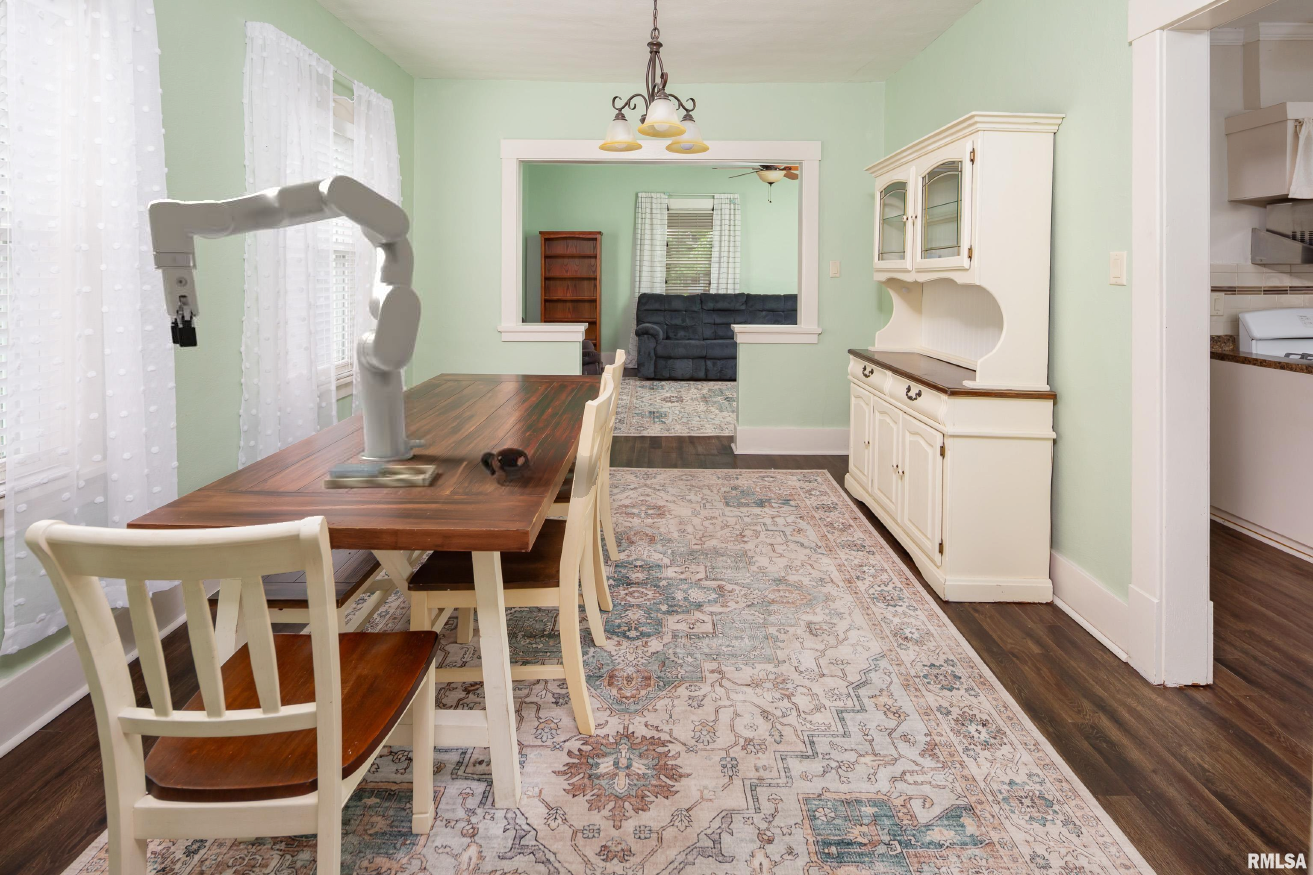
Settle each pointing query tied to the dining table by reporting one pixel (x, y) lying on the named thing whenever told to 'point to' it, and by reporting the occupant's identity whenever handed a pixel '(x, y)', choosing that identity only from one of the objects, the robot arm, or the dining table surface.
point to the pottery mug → (506, 464)
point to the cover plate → (358, 470)
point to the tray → (390, 478)
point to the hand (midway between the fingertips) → (184, 345)
